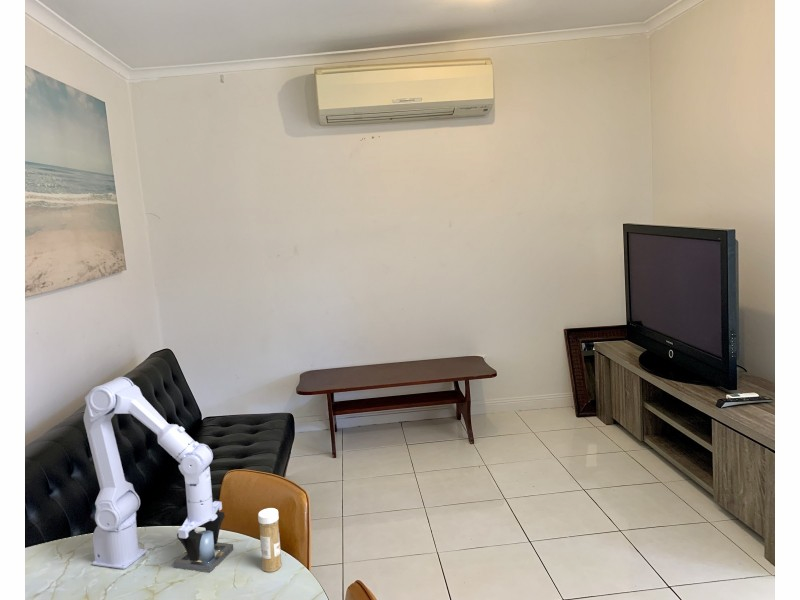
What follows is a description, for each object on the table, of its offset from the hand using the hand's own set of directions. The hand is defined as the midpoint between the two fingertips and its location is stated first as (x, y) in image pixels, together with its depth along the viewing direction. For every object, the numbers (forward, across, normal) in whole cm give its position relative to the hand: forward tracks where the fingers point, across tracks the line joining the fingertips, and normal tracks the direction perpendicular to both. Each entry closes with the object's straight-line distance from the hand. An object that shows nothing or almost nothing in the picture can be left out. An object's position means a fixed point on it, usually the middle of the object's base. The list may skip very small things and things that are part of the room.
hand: (203, 551), depth 135 cm
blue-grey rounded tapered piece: (+2, 0, 0) cm, 2 cm away
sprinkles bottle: (+2, 0, -18) cm, 18 cm away
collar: (+2, 0, 0) cm, 2 cm away
